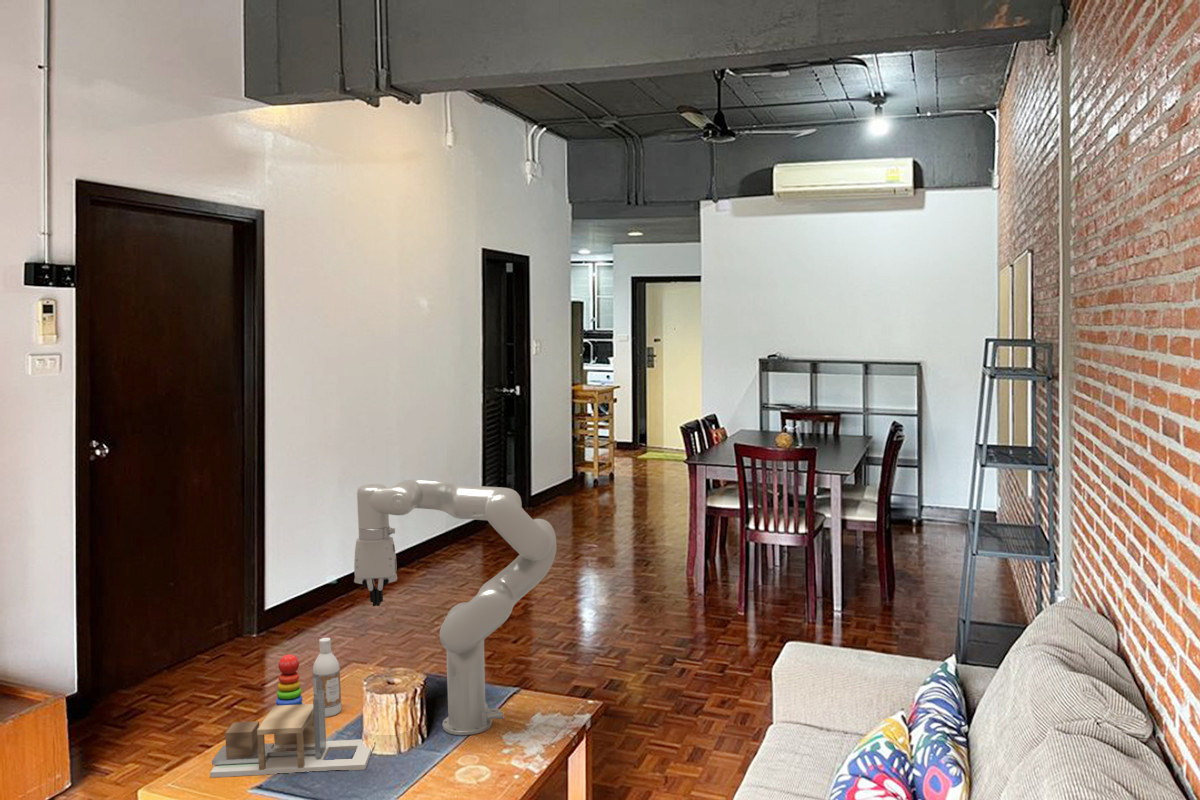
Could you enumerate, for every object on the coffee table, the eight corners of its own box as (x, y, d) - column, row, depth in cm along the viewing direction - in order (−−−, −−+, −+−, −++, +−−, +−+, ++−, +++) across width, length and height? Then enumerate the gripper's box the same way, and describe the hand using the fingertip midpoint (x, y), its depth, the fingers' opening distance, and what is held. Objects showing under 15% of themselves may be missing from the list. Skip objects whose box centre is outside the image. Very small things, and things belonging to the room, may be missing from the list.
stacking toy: (287, 735, 237) (284, 662, 236) (266, 728, 241) (263, 657, 240) (312, 723, 244) (309, 653, 243) (291, 717, 248) (288, 648, 247)
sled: (327, 744, 228) (324, 688, 227) (319, 759, 220) (317, 701, 219) (223, 749, 226) (220, 692, 225) (211, 764, 218) (208, 706, 217)
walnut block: (260, 745, 225) (259, 721, 225) (252, 756, 219) (251, 731, 219) (234, 746, 225) (233, 722, 225) (226, 758, 219) (225, 733, 219)
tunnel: (317, 741, 230) (315, 703, 230) (303, 767, 216) (301, 727, 216) (275, 743, 230) (274, 705, 229) (259, 769, 216) (257, 729, 215)
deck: (375, 743, 231) (375, 738, 231) (365, 769, 217) (364, 764, 217) (229, 750, 229) (229, 745, 229) (210, 777, 215) (209, 772, 215)
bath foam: (322, 719, 246) (319, 645, 245) (309, 712, 251) (306, 639, 250) (346, 712, 251) (343, 639, 250) (333, 705, 256) (330, 633, 255)
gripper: (405, 529, 242) (408, 599, 243) (346, 531, 240) (349, 602, 242) (402, 535, 234) (404, 607, 236) (341, 538, 233) (344, 610, 234)
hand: (376, 604), depth 239 cm, fingers closed
